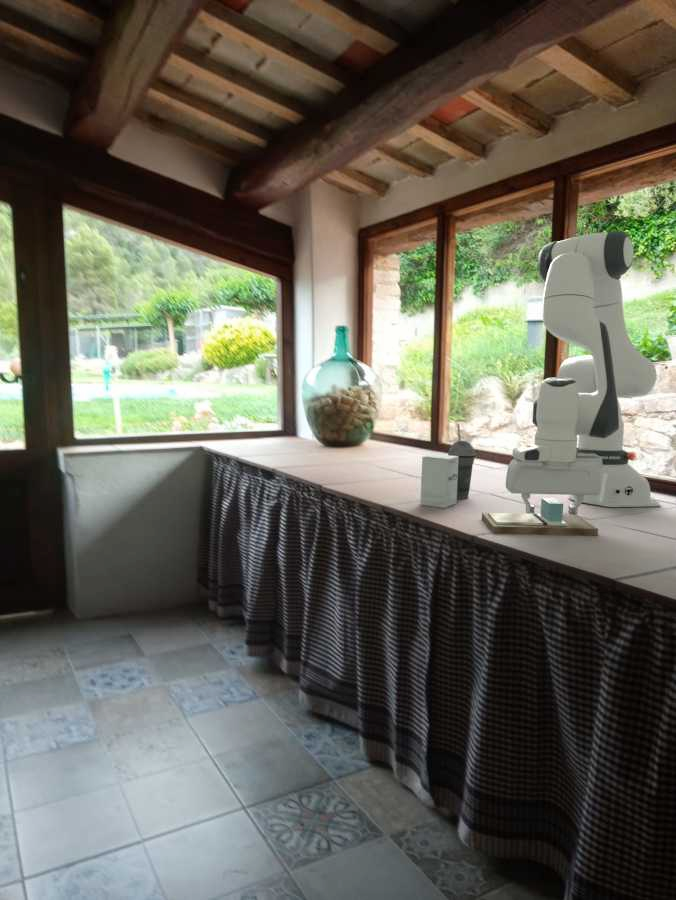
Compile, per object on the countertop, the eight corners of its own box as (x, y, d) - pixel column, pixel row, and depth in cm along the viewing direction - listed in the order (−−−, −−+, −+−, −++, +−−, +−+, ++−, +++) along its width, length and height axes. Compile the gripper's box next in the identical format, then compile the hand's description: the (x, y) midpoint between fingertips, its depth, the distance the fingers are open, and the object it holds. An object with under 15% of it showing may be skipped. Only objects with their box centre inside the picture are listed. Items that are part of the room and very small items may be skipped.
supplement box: (446, 508, 161) (448, 458, 160) (419, 505, 165) (421, 456, 164) (457, 503, 167) (459, 455, 166) (431, 500, 171) (432, 453, 170)
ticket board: (576, 521, 150) (577, 512, 149) (597, 535, 137) (598, 526, 136) (481, 519, 150) (482, 510, 150) (493, 533, 137) (493, 523, 137)
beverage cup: (473, 500, 172) (476, 426, 169) (445, 499, 173) (448, 425, 171) (473, 495, 179) (476, 423, 176) (446, 494, 180) (449, 422, 178)
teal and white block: (553, 516, 148) (555, 497, 147) (566, 525, 139) (567, 505, 138) (536, 515, 148) (537, 496, 147) (547, 525, 139) (549, 504, 138)
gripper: (597, 451, 144) (593, 511, 146) (505, 449, 145) (502, 509, 146) (608, 454, 138) (603, 518, 140) (512, 452, 138) (509, 515, 140)
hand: (551, 513), depth 143 cm, fingers open, 8 cm apart
